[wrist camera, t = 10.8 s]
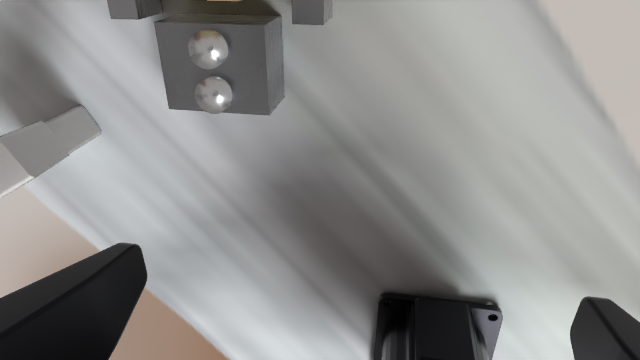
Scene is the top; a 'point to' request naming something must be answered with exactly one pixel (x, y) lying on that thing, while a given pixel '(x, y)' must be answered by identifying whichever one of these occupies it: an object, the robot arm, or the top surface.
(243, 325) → the top surface
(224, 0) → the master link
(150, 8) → the studded rectangular link
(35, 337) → the robot arm
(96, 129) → the grey angular piece
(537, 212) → the top surface
